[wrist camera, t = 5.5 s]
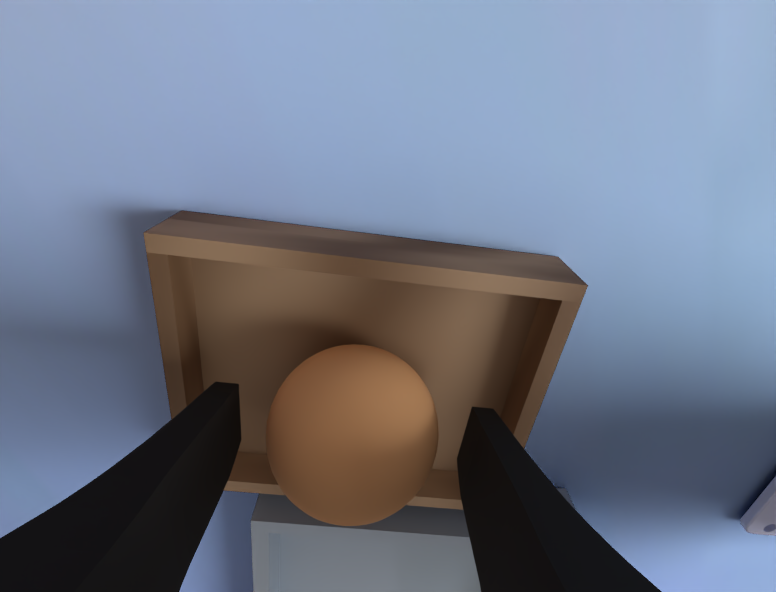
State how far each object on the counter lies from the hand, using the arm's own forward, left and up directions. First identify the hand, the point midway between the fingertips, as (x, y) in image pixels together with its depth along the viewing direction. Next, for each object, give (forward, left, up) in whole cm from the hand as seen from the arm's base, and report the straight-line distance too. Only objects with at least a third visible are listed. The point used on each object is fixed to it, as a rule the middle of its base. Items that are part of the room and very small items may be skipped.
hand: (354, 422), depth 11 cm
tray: (0, 0, -3) cm, 3 cm away
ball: (0, 0, 0) cm, 0 cm away
